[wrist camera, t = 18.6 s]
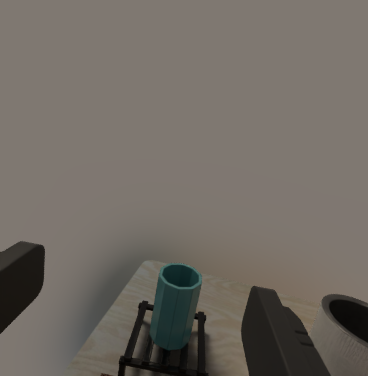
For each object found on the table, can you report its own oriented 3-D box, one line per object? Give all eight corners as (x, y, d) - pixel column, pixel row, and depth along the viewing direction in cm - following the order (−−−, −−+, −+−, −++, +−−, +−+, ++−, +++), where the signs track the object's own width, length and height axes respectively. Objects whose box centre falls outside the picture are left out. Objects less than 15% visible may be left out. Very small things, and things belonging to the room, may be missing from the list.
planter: (357, 351, 44) (378, 300, 42) (417, 434, 32) (453, 369, 29) (290, 338, 44) (307, 287, 42) (325, 416, 32) (352, 350, 30)
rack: (116, 380, 32) (119, 357, 31) (137, 318, 43) (140, 299, 42) (203, 398, 32) (209, 375, 31) (202, 330, 43) (206, 312, 42)
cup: (145, 346, 33) (156, 284, 31) (154, 312, 40) (163, 259, 37) (188, 354, 33) (201, 293, 31) (190, 320, 39) (201, 266, 37)
